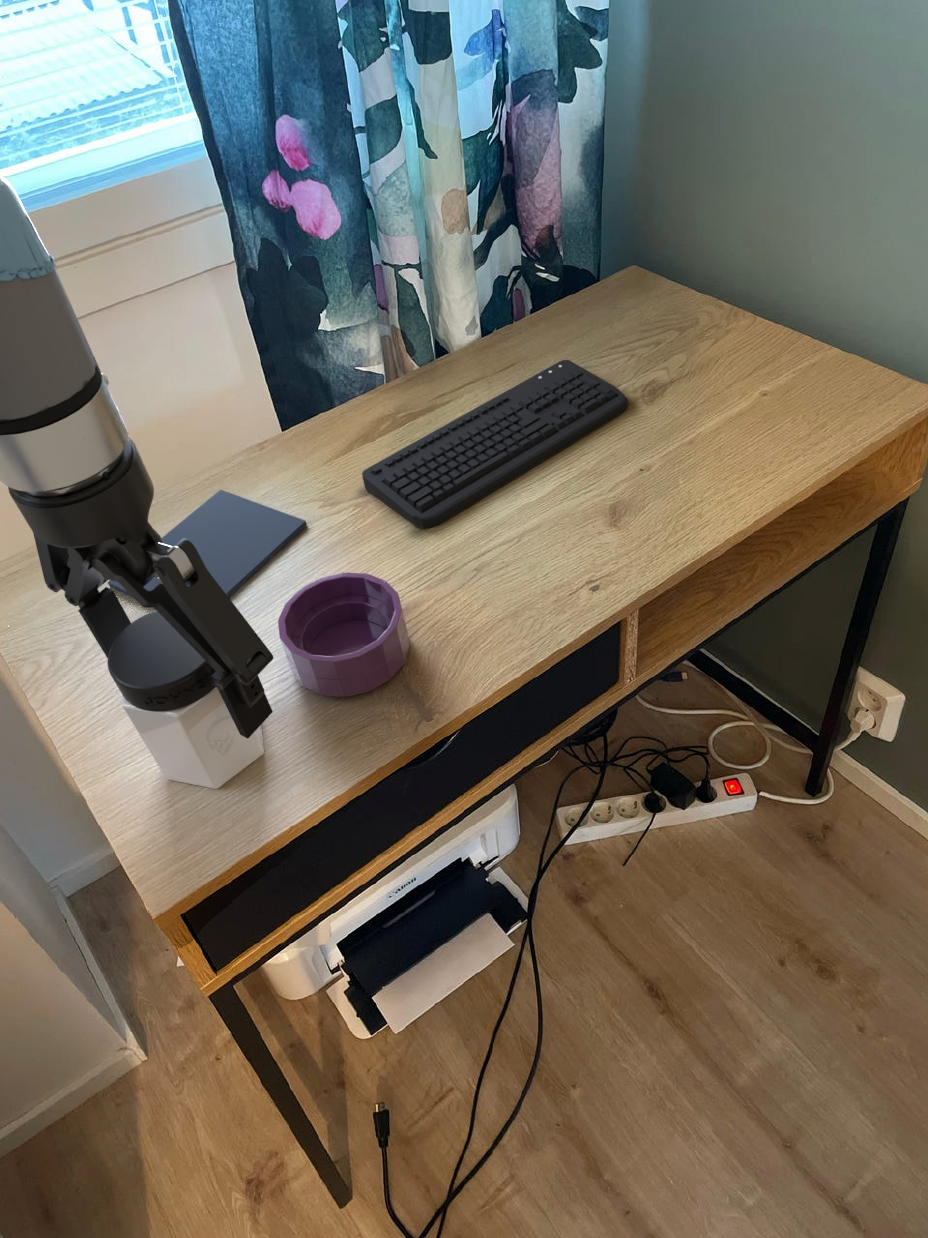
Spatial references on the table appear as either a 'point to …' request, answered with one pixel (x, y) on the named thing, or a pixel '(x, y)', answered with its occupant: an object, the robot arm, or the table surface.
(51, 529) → the robot arm
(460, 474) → the keyboard
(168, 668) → the jar
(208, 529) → the placemat
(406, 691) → the table surface
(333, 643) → the bowl
